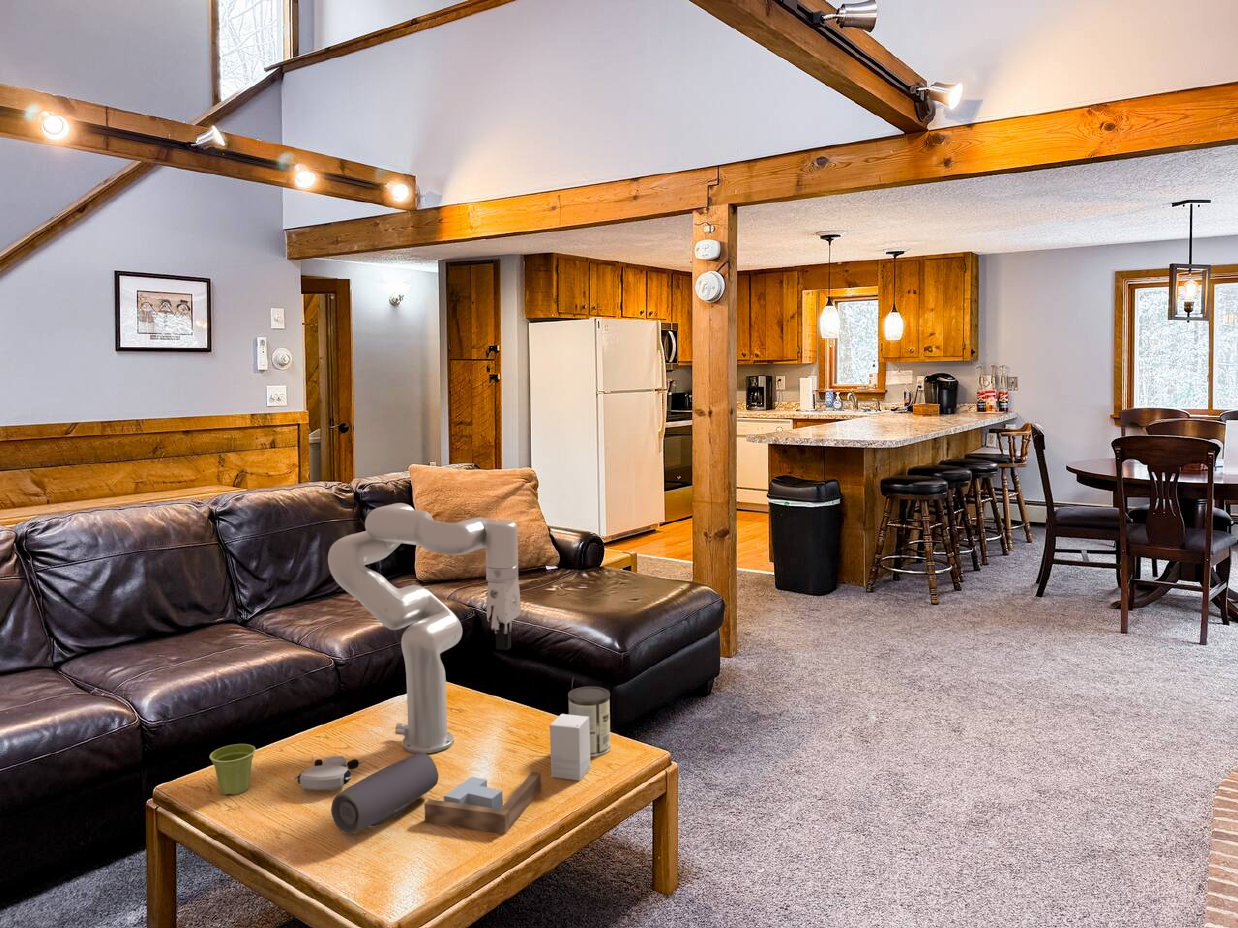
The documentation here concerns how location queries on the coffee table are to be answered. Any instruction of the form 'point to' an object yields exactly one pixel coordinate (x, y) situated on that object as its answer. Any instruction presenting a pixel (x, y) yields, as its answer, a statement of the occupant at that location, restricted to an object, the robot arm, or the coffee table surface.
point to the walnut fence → (485, 810)
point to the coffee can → (593, 715)
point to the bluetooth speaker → (384, 793)
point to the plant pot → (233, 767)
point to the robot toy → (327, 774)
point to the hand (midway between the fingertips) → (503, 648)
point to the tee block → (475, 794)
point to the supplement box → (570, 747)
